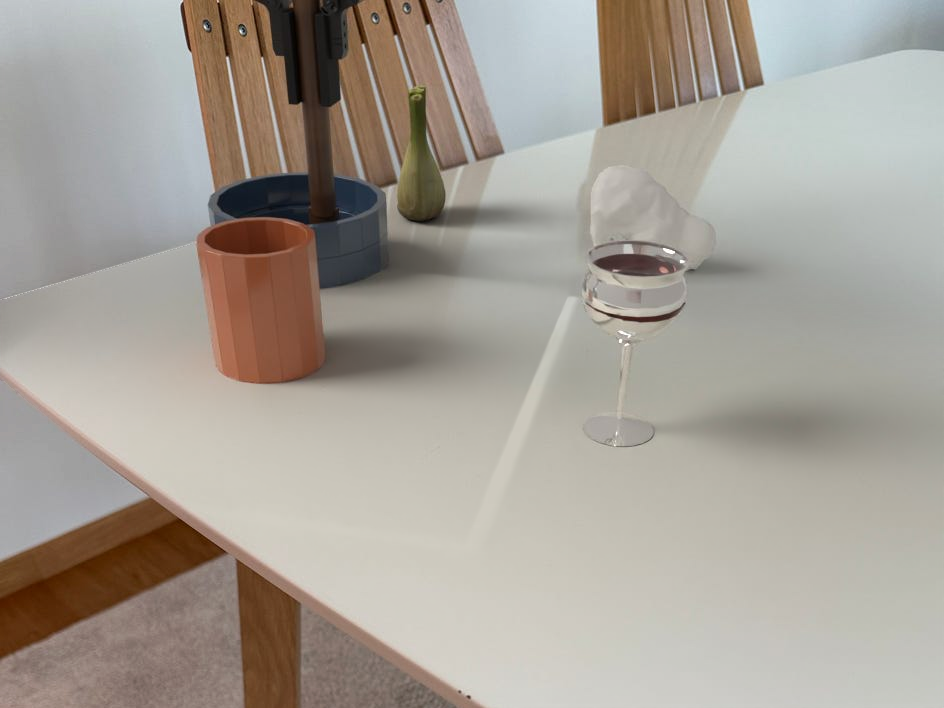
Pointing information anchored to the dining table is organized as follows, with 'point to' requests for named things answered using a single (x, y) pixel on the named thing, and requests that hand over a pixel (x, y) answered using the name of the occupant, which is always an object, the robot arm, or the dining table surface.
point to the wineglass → (631, 315)
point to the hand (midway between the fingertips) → (315, 101)
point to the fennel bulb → (419, 167)
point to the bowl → (337, 243)
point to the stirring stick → (314, 116)
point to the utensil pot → (262, 298)
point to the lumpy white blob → (646, 214)
